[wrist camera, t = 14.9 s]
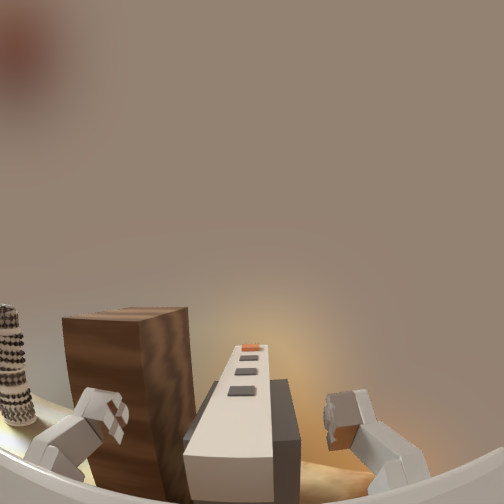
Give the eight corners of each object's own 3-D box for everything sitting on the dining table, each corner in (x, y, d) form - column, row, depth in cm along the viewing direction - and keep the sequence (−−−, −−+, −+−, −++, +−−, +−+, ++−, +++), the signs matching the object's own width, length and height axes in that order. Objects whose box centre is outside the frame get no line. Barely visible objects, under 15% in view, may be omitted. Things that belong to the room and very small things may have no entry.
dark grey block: (294, 572, 15) (301, 439, 17) (210, 571, 16) (182, 439, 18) (287, 497, 29) (287, 379, 31) (226, 498, 30) (214, 380, 31)
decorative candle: (21, 431, 37) (-1, 306, 40) (-6, 419, 37) (-25, 303, 40) (45, 417, 46) (28, 304, 49) (18, 408, 46) (2, 302, 49)
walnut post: (179, 543, 20) (138, 321, 22) (113, 529, 20) (61, 317, 23) (204, 473, 36) (187, 307, 38) (153, 468, 36) (131, 307, 39)
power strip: (273, 501, 11) (272, 448, 11) (191, 499, 11) (181, 447, 11) (268, 367, 36) (267, 341, 37) (236, 368, 37) (235, 342, 37)
